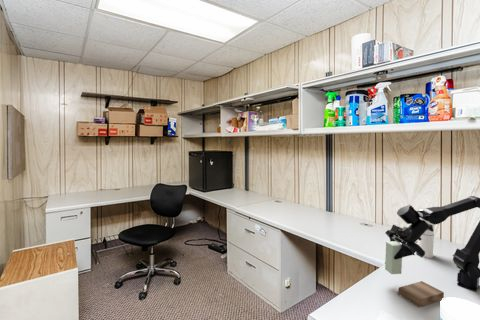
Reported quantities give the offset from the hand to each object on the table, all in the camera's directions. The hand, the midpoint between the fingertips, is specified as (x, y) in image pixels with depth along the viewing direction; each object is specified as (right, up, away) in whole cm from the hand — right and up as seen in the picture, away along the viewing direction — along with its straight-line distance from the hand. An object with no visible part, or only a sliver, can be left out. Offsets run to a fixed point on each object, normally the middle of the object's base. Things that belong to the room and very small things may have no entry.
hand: (390, 256), depth 116 cm
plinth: (+8, -14, -8) cm, 18 cm away
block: (+1, -7, +1) cm, 7 cm away
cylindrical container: (+37, -11, +31) cm, 49 cm away
